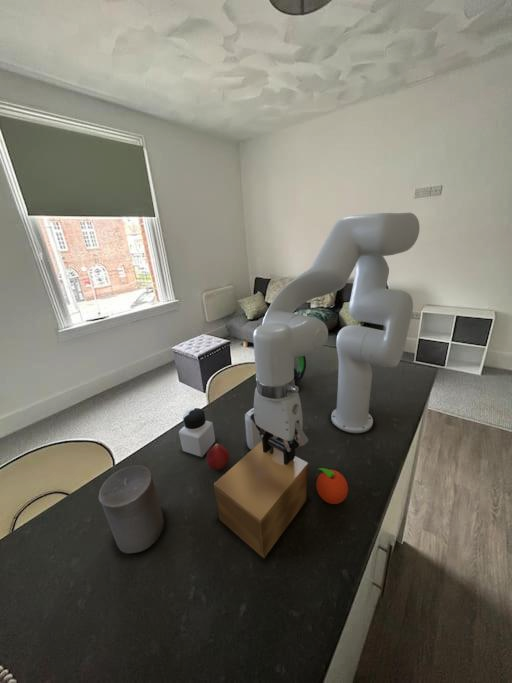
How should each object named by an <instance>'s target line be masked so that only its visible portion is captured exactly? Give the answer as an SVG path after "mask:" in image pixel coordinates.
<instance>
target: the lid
mask: <svg viewBox="0 0 512 683" xmlns="http://www.w3.org/2000/svg"><path fill="white" fill-rule="evenodd" d="M267 444H268V445H269V451H268V452H267V453H264V452H263V444H262V441H261V442H260V443H259V444H258V445H257V446H256V447H254V448H253V449H250V451H249V452H247V454H246V455H244V456H243V457H242V458H241V459H240V460H239V461H238V462H236V464H234V465H233V466H232V467H231V468H230V469H228V471H226V472H225V474H223V475H222V476H221V477H220V478H219V479H218V480H217V481H215V482H214V483H213V488H214V487H215V488H216V489H218V490H219V491H220V492H222V493H223V494H224V495H225V496H227V497H228V498H229V499H231V500H232V501H233V502H234V503H236V504H237V505H238V506H240V507H241V508H242V509H243V510H245V511H246V512H247V513H249V514H250V515H251V516H252V517H254V518H255V519H256V520H257V521H259V522H260V523H262V521H263V520H264V519H265V518H266V517H267V515H268V514H269V513H270V512H271V510H272V509H273V508H274V507H275V506H276V504H277V503H278V502H279V501H280V499H281V498H282V497H283V496H284V495H285V493H286V492H287V491H288V490H289V488H290V487H291V486H292V485H293V484H294V482H295V481H296V480H297V479H298V478H299V476H300V475H301V474H302V473H303V471H304V470H305V469H306V470H307V468H308V467H309V462H307V461H306V460H304V459H302V458H300V457H299V456H296V455H295V458H294V459H293V461H290V462H289V463H288V464H287V465H285V464H284V455H283V450H284V449H285V445H284V442H282V441H281V440H279V439H278V438H277V439H275V438H273V437H269V438H268V440H267Z"/></svg>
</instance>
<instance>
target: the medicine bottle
mask: <svg viewBox="0 0 512 683" xmlns="http://www.w3.org/2000/svg"><path fill="white" fill-rule="evenodd" d="M182 420H183V427H181V429H180V430H179V431H178V436H179V441H180V445H181V450H182V452H185V453H187V454H191V455H194V456H197V457H200V458H203V457H204V456H205V454H207V453H208V451H209V450H210V448H211V447H213V446H214V445H213V444H214V443H215V442H216V436H215V428H214V424H213V422H212V421H210V420H206V414H205V411H204V410H203V409H202V408H199V407H193V408H190V409H187V410H186V411H185V412H184V413H183V414H182Z"/></svg>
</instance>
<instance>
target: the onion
mask: <svg viewBox="0 0 512 683" xmlns="http://www.w3.org/2000/svg"><path fill="white" fill-rule="evenodd" d="M205 460H206V463H207V466H208V467H209V468H211V469H212V470H215V471H219V470H222V469H224V468H225V467H226V466H227V465H228V463H229V461H230V454H229V451H228V450H227V447H225V446H223V445H220V444H219V443H215V444H214V445H212V446H211V447H210V448H209V450H208V451H207V452H206V459H205Z"/></svg>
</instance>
